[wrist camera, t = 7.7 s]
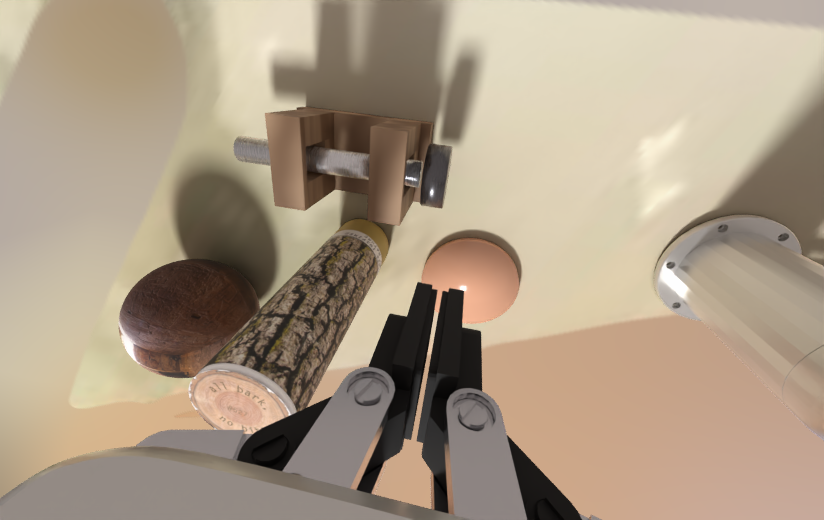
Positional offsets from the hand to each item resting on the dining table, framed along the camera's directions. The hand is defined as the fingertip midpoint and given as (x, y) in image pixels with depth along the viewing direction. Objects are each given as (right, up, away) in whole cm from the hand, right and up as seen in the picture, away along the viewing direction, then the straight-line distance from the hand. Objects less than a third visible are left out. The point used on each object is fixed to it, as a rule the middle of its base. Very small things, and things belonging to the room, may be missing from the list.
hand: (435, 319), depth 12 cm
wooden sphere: (-28, -2, +37) cm, 46 cm away
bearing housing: (-6, +14, +24) cm, 29 cm away
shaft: (-7, +13, +22) cm, 26 cm away
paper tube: (-7, +5, +30) cm, 31 cm away
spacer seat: (+6, -1, +30) cm, 30 cm away
